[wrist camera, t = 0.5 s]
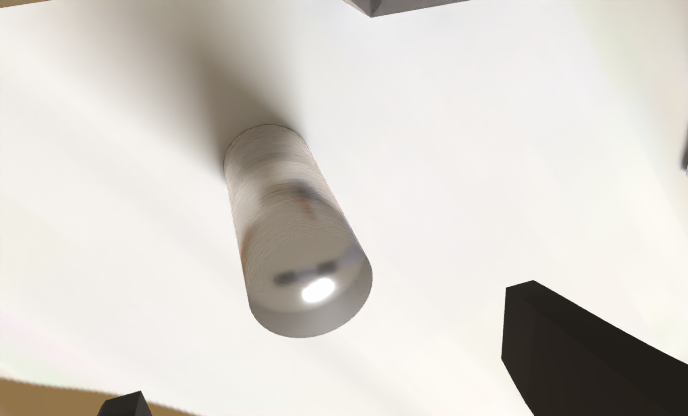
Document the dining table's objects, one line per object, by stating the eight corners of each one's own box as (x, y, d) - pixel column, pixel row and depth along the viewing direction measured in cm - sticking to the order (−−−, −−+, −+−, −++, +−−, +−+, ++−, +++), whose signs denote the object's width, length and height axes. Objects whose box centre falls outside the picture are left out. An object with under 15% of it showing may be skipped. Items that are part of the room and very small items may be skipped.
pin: (304, 116, 18) (367, 222, 12) (316, 193, 20) (377, 319, 14) (214, 134, 17) (235, 253, 12) (234, 212, 19) (261, 351, 13)
